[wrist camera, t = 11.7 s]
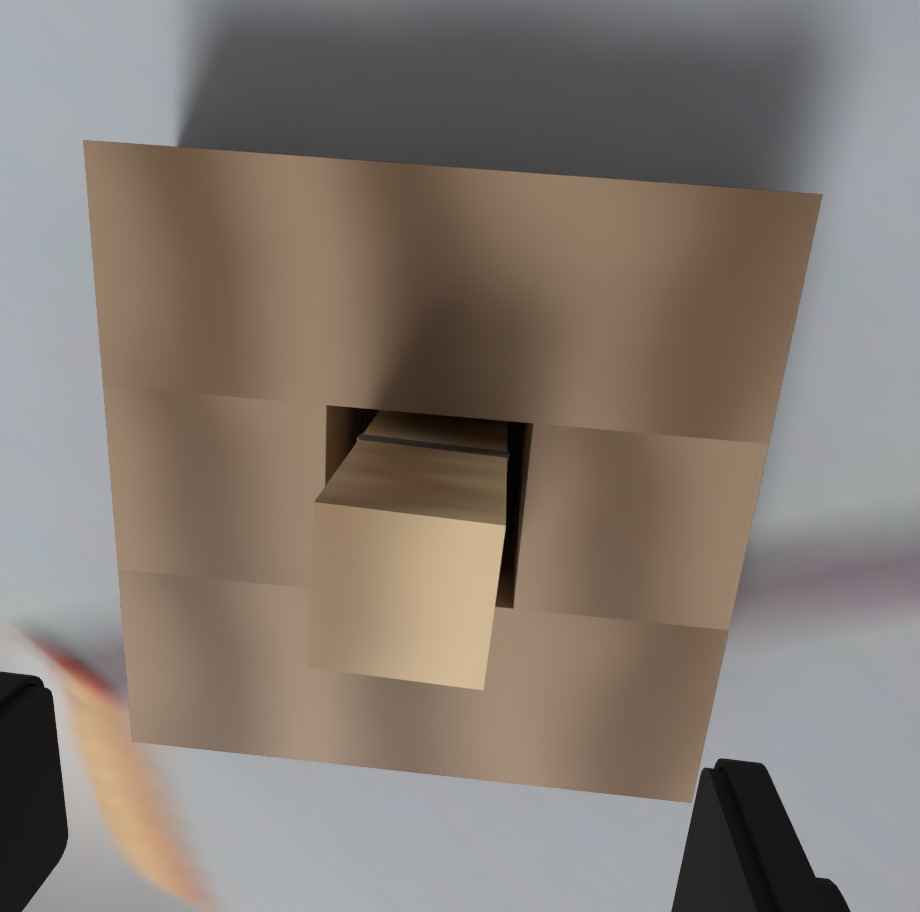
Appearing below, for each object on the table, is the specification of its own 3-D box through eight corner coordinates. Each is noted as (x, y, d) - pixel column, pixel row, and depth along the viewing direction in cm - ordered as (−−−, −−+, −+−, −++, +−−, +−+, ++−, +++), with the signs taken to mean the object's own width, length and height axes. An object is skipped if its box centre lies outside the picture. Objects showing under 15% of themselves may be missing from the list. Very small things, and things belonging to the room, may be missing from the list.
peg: (509, 408, 24) (508, 523, 15) (494, 519, 25) (485, 692, 16) (389, 393, 24) (311, 499, 15) (381, 505, 26) (304, 668, 16)
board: (754, 201, 22) (822, 194, 17) (660, 702, 27) (691, 803, 22) (173, 158, 22) (82, 139, 18) (196, 654, 28) (132, 741, 23)
